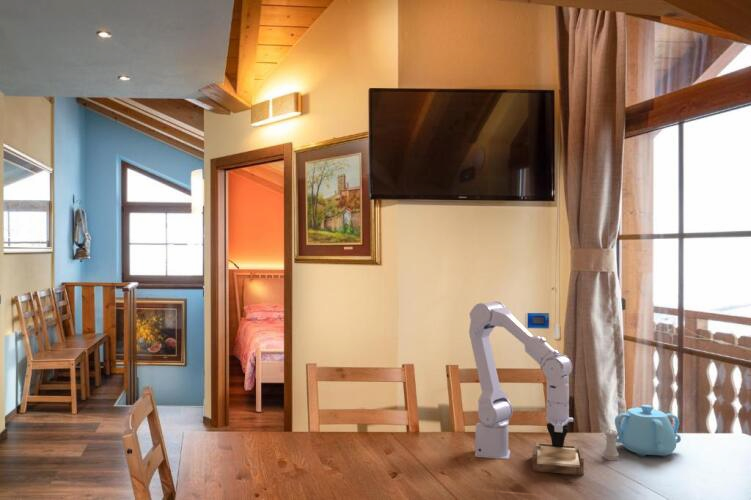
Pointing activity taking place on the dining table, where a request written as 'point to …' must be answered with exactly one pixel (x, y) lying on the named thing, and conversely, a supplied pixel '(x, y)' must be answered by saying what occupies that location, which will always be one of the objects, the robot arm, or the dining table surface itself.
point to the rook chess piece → (611, 446)
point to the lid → (558, 456)
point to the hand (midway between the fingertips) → (557, 451)
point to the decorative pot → (647, 431)
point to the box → (556, 467)
